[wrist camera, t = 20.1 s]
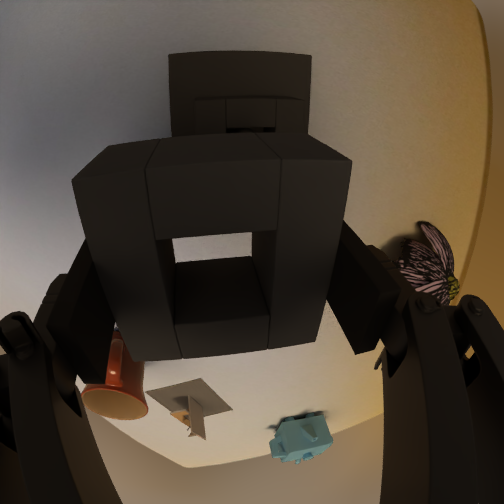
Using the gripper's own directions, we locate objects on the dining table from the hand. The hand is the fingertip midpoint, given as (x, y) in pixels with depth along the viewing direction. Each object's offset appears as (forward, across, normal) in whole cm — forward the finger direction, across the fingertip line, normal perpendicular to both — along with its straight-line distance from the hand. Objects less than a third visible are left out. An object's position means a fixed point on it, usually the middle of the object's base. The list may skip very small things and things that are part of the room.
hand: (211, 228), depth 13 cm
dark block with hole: (+14, +4, +1) cm, 14 cm away
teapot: (+16, +17, -65) cm, 69 cm away
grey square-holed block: (0, 0, 0) cm, 0 cm away
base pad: (+15, +3, +1) cm, 16 cm away
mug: (+16, -13, -24) cm, 32 cm away
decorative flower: (+16, +28, -16) cm, 35 cm away
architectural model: (+16, -6, -45) cm, 48 cm away
